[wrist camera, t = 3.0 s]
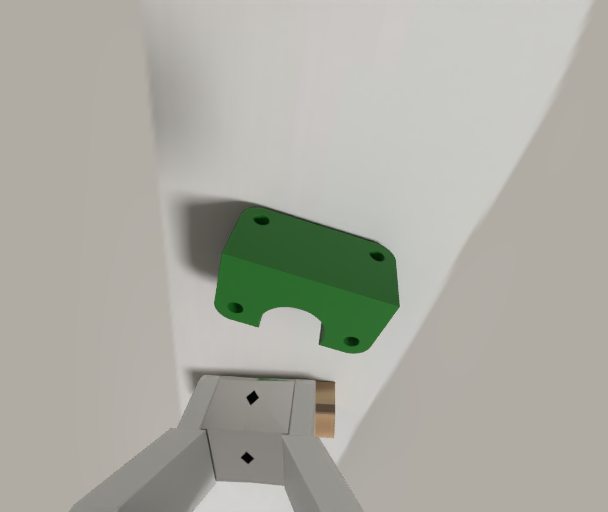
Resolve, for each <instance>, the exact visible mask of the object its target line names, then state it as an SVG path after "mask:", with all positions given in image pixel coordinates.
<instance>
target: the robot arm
mask: <svg viewBox="0 0 608 512" xmlns="http://www.w3.org/2000/svg"><path fill="white" fill-rule="evenodd" d="M315 408H316V381H315V380H300V379H273V378H247V377H233V376H214V375H203V376H202V377H201V378H200V379H199V381H198V383H197V385H196V388H195V390H194V392H193V394H192V396H191V398H190V401H189V403H188V405H187V407H186V409H185V411H184V414H183V416H182V418H181V420H180V422H179V425H178V427H177V428H170V429H169V430H168V431H167V432H165V433H164V434H163V435H161V436H160V437H159V438H158V439H156V440H155V441H154V442H153V443H151V444H150V445H149V446H148V447H147V448H145V449H144V450H143V451H141V452H140V453H139V454H137V455H136V456H135V457H134V458H132V459H131V460H130V461H129V462H127V463H126V464H125V465H124V466H122V467H121V468H120V469H119V470H117V471H116V472H115V473H113V474H112V475H111V476H110V477H108V478H107V479H106V480H105V481H103V482H102V483H101V484H100V485H98V486H97V487H96V488H95V489H93V490H92V491H91V492H90V493H88V494H87V495H86V496H84V497H83V498H82V499H81V500H79V501H78V502H77V503H76V504H74V505H73V507H72V508H71V510H70V511H69V512H193V511H194V509H195V508H196V507H197V506H198V505H199V503H200V502H201V501H202V500H203V498H204V497H205V496H206V495H207V494H208V492H209V491H210V490H211V489H212V488H213V486H214V485H215V484H216V481H228V482H252V483H262V484H272V485H282V486H285V490H286V492H287V495H288V497H289V500H290V502H291V505H292V507H293V510H294V512H364V510H363V509H362V507H361V506H360V504H359V502H358V500H357V499H356V497H355V496H354V494H353V492H352V491H351V489H350V487H349V486H348V484H347V482H346V481H345V479H344V477H343V476H342V474H341V473H340V471H339V469H338V468H337V466H336V464H335V463H334V461H333V460H332V458H331V456H330V455H329V453H328V451H327V450H326V448H325V446H324V445H323V443H322V442H321V440H320V438H319V437H317V436H315Z"/></svg>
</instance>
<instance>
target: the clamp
mask: <svg viewBox="0 0 608 512" xmlns="http://www.w3.org/2000/svg"><path fill="white" fill-rule="evenodd" d="M214 305H215V308H216V309H217V311H218V312H219V313H220V314H221V315H223V316H224V317H226V318H228V319H231V320H235V321H238V322H241V323H245V324H248V325H252V326H255V327H259V324H260V321H261V318H262V314H263V313H265V312H266V311H268V310H270V309H273V308H277V307H293V308H298V309H302V310H304V311H307V312H309V313H311V314H312V315H314V316H315V317H317V318H318V319H319V320H320V321H321V322H322V323H321V331H320V339H319V345H321V346H325V347H328V348H332V349H335V350H339V351H342V352H346V353H361V352H364V351H366V350H368V349H369V348H370V347H371V345H372V344H373V343H374V341H375V340H376V339H377V337H378V336H379V334H380V333H381V332H382V330H383V329H384V328H385V326H386V325H387V323H388V322H389V321H390V319H391V318H392V317H393V315H394V314H395V313H396V311H397V310H398V308H399V307H400V304H399V293H398V281H397V269H396V260H395V257H394V255H393V254H392V253H391V252H390V251H389V250H388V249H387V248H385V247H384V246H382V245H380V244H377V243H374V242H371V241H368V240H364V239H361V238H358V237H355V236H352V235H349V234H345V233H342V232H339V231H336V230H333V229H329V228H326V227H323V226H320V225H317V224H313V223H310V222H307V221H304V220H301V219H297V218H294V217H291V216H288V215H285V214H281V213H278V212H275V211H272V210H269V209H265V208H261V207H252V208H248V209H246V210H244V211H243V212H242V214H241V216H240V218H239V220H238V222H237V224H236V226H235V228H234V230H233V232H232V234H231V236H230V238H229V240H228V242H227V244H226V246H225V248H224V250H223V252H222V256H221V262H220V269H219V275H218V282H217V288H216V295H215V301H214Z"/></svg>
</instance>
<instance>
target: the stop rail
mask: <svg viewBox="0 0 608 512" xmlns="http://www.w3.org/2000/svg"><path fill="white" fill-rule="evenodd" d="M334 427H335V382H319V381H316V408H315V436H317V437H326V438H334Z"/></svg>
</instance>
